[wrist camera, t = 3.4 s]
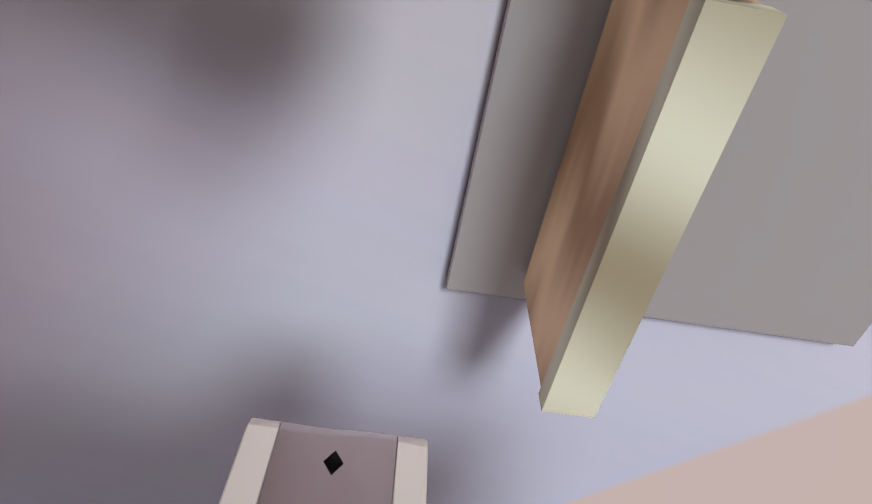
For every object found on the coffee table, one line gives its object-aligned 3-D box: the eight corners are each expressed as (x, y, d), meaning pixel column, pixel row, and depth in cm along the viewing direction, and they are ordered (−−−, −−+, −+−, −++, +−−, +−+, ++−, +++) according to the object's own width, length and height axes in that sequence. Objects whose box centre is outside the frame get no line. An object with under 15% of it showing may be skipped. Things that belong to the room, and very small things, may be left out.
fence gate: (649, -134, 13) (755, -125, 8) (710, -122, 13) (846, -107, 9) (520, 282, 19) (541, 411, 15) (561, 288, 20) (594, 418, 15)
